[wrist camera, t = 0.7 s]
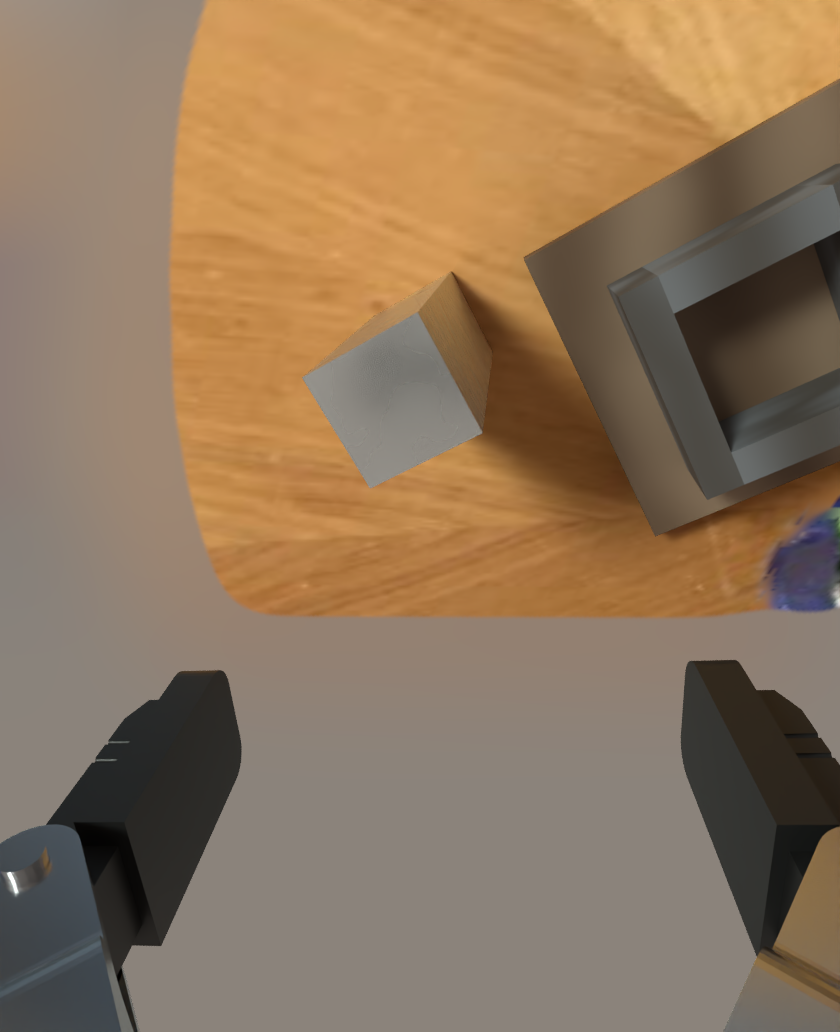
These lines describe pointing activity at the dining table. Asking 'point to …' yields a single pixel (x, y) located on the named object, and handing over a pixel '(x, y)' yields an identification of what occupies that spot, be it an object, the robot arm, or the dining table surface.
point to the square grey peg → (407, 382)
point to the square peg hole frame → (713, 317)
